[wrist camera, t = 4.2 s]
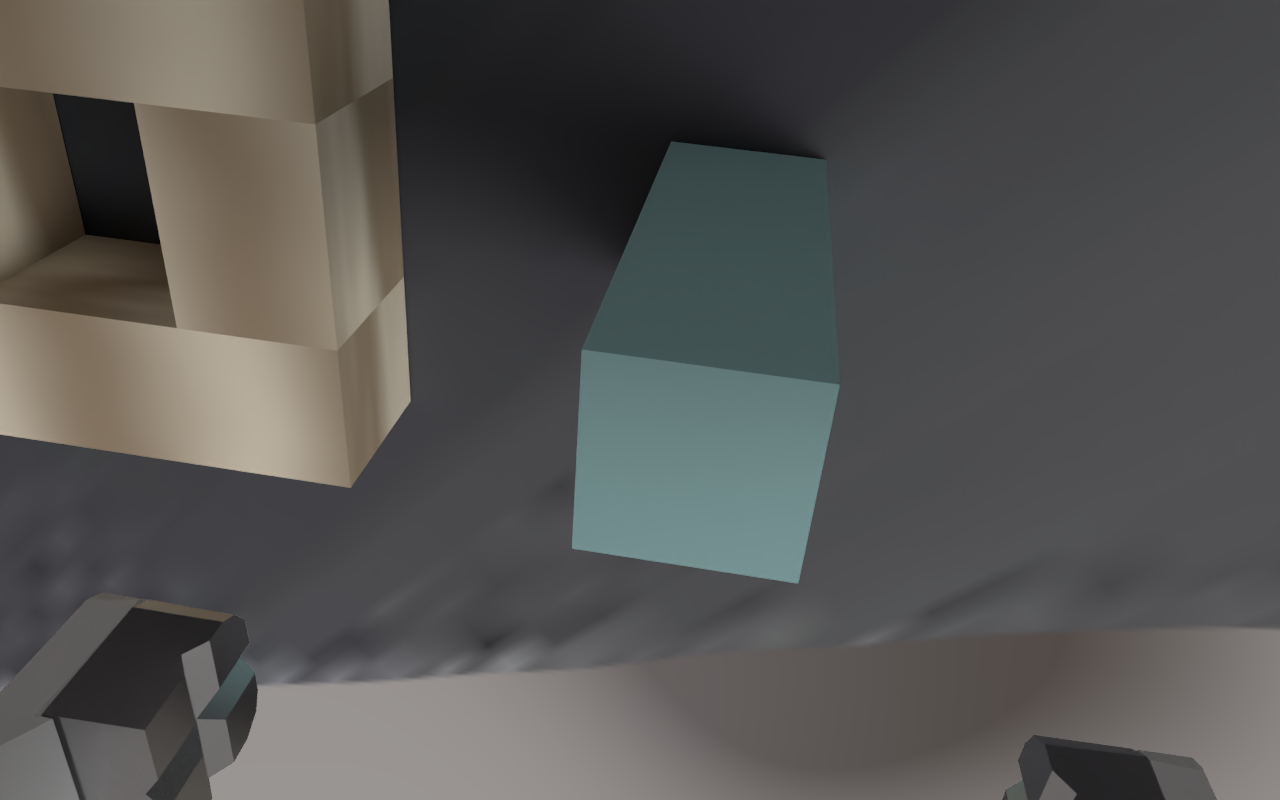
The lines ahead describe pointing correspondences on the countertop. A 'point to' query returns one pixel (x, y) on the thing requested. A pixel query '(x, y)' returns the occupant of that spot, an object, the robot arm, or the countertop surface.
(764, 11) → the countertop surface
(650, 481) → the square bit
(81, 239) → the bore block
